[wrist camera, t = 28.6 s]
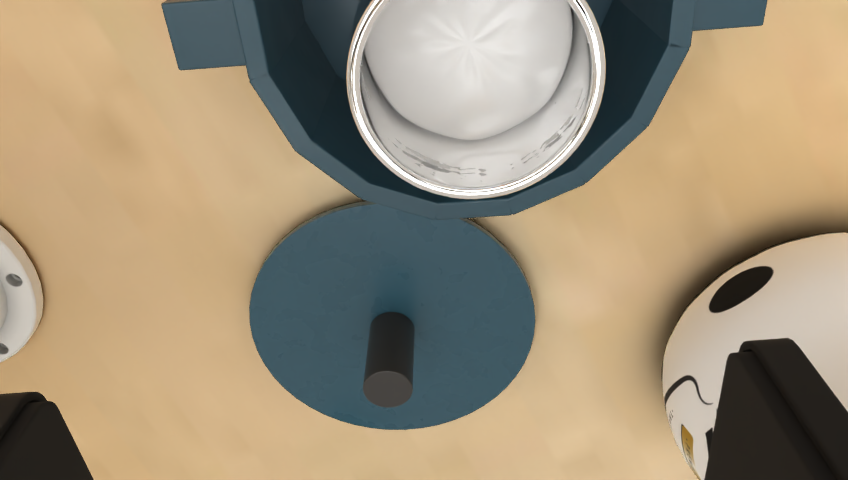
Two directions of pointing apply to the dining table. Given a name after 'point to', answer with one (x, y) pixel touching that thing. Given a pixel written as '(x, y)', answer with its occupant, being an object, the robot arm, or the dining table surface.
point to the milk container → (757, 330)
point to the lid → (391, 316)
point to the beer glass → (474, 89)
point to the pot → (331, 114)
